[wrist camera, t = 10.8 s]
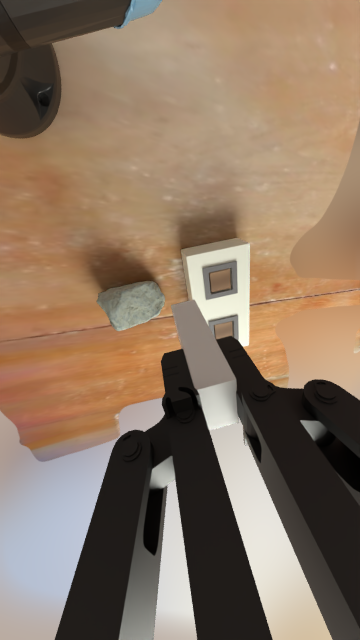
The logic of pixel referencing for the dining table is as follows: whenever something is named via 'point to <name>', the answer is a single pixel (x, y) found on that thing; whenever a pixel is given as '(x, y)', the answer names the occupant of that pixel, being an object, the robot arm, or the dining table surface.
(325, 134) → the dining table surface
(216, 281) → the peg
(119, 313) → the decorative stone
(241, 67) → the dining table surface
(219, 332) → the peg
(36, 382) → the dining table surface
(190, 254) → the socket block
